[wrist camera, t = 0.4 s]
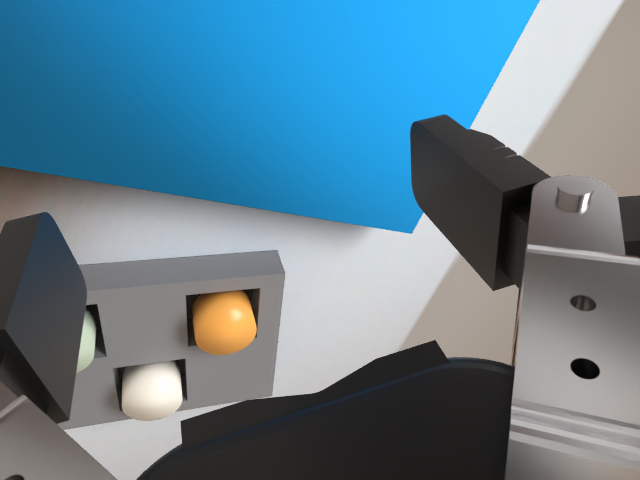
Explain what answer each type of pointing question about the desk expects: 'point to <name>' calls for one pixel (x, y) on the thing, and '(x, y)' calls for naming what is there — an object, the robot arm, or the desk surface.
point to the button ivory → (151, 390)
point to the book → (247, 95)
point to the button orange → (223, 322)
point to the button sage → (87, 341)
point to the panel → (176, 330)
